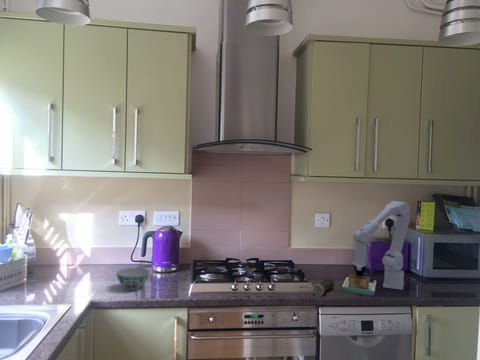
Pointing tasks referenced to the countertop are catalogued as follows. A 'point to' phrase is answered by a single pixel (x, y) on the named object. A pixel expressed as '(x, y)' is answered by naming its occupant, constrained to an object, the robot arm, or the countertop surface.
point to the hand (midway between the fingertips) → (359, 281)
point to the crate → (359, 282)
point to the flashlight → (323, 287)
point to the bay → (360, 291)
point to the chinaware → (133, 277)
